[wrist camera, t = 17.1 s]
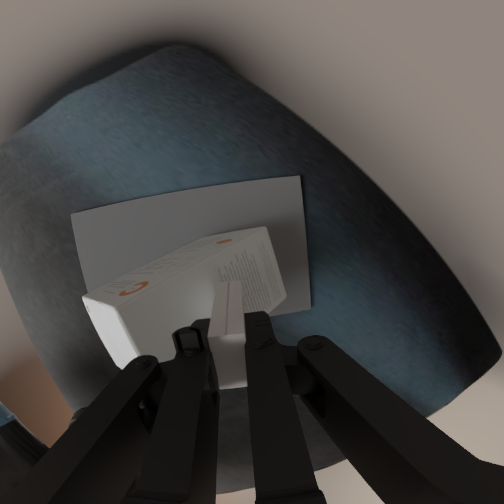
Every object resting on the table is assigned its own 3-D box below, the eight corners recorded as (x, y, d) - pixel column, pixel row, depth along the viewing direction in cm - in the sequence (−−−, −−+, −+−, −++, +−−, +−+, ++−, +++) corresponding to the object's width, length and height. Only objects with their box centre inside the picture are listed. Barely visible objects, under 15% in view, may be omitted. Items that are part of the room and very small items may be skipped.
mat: (103, 332, 28) (101, 334, 28) (73, 213, 25) (70, 214, 25) (309, 307, 30) (311, 309, 29) (298, 175, 27) (299, 175, 26)
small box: (223, 295, 28) (115, 366, 19) (202, 236, 27) (79, 295, 17) (290, 298, 23) (165, 404, 13) (268, 224, 21) (111, 306, 12)
